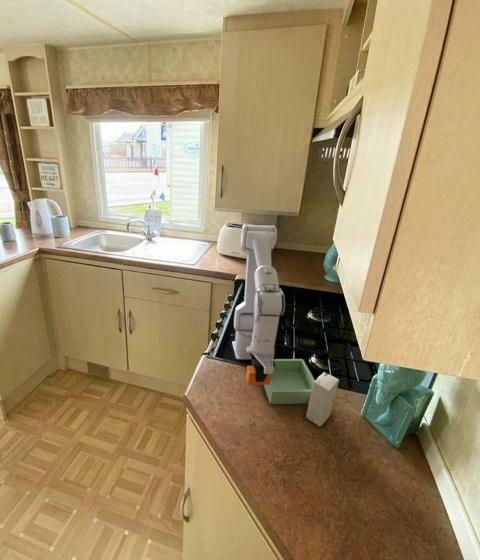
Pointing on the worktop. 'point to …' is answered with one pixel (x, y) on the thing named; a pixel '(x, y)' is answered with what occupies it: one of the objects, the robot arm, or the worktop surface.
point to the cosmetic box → (322, 398)
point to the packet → (252, 380)
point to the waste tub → (290, 382)
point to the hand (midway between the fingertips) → (258, 376)
